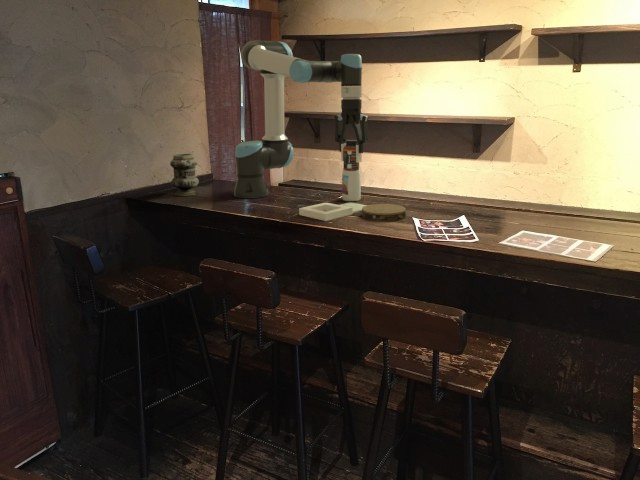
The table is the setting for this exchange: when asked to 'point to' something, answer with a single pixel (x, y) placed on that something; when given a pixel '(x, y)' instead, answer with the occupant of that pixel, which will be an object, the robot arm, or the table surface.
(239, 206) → the table surface
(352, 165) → the supplement bottle
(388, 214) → the tambourine
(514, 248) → the table surface
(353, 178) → the milk bottle
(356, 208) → the tile
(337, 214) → the collar
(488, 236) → the table surface
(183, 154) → the apothecary jar
